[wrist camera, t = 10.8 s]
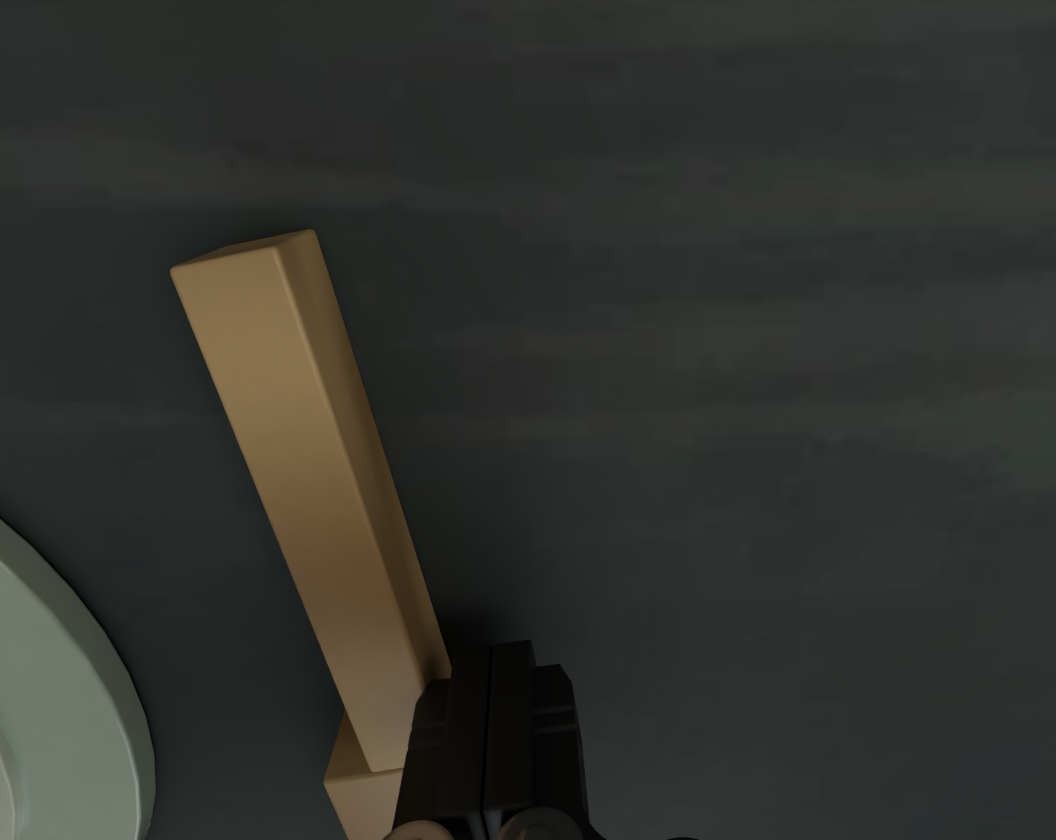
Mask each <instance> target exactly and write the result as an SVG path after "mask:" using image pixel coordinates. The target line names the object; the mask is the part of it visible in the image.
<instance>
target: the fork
mask: <svg viewBox="0 0 1056 840" xmlns="http://www.w3.org/2000/svg"><path fill="white" fill-rule="evenodd" d="M170 275H171V277H172V280H173V282H174V284H175V287H176V289H177V292H178V294H179V297H180V299H181V302H182V304H183V307H184V309H185V312H186V314H187V317H188V319H189V322H190V324H191V327H192V329H193V332H194V334H195V337H196V339H197V342H198V344H199V347H200V349H201V351H202V354H203V356H204V359H205V361H206V364H207V366H208V369H209V371H210V374H211V376H212V379H213V381H214V384H215V386H216V389H217V391H218V394H219V396H220V399H221V401H222V404H223V406H224V409H225V411H226V413H227V416H228V418H229V421H230V423H231V426H232V428H233V431H234V433H235V436H236V438H237V441H238V443H239V446H240V448H241V451H242V453H243V456H244V458H245V461H246V463H247V466H248V468H249V471H250V473H251V475H252V478H253V480H254V483H255V485H256V488H257V490H258V493H259V495H260V498H261V500H262V503H263V505H264V508H265V510H266V513H267V515H268V518H269V520H270V523H271V525H272V528H273V530H274V533H275V535H276V537H277V540H278V542H279V545H280V547H281V550H282V552H283V555H284V557H285V560H286V562H287V565H288V567H289V570H290V572H291V575H292V577H293V580H294V582H295V585H296V587H297V590H298V592H299V595H300V597H301V599H302V602H303V604H304V607H305V609H306V612H307V614H308V617H309V619H310V622H311V624H312V627H313V629H314V632H315V634H316V637H317V639H318V642H319V644H320V647H321V649H322V652H323V654H324V657H325V659H326V661H327V664H328V666H329V669H330V671H331V674H332V676H333V679H334V681H335V684H336V686H337V689H338V691H339V694H340V696H341V699H342V701H343V704H344V706H345V711H344V714H343V718H342V721H341V724H340V728H339V731H338V734H337V738H336V741H335V744H334V748H333V751H332V754H331V758H330V761H329V764H328V768H327V771H326V774H325V778H324V786H325V788H326V790H327V793H328V795H329V797H330V799H331V802H332V804H333V806H334V808H335V811H336V813H337V815H338V817H339V820H340V822H341V824H342V826H343V829H344V831H345V833H346V835H347V838H348V840H382V839H383V838H384V837H385V836H386V835H388V834H389V833H390V832H391V830H392V826H393V821H394V816H395V811H396V805H397V800H398V795H399V790H400V784H401V779H402V774H403V768H404V763H405V758H406V753H407V751H408V742H409V737H410V731H412V727H411V726H412V721H413V716H414V710H415V705H416V702H417V700H418V699H419V697H420V696H421V694H422V693H423V691H424V690H425V688H426V687H427V685H428V683H429V682H430V680H438V679H446V678H450V677H451V669H452V668H451V664H450V661H449V658H448V655H447V652H446V648H445V645H444V642H443V639H442V636H441V632H440V629H439V626H438V623H437V620H436V616H435V613H434V610H433V607H432V604H431V600H430V597H429V594H428V591H427V588H426V584H425V581H424V578H423V575H422V572H421V568H420V565H419V562H418V559H417V556H416V552H415V549H414V546H413V543H412V540H411V536H410V533H409V530H408V527H407V524H406V520H405V517H404V514H403V511H402V508H401V504H400V501H399V498H398V495H397V492H396V488H395V485H394V482H393V479H392V476H391V472H390V469H389V466H388V463H387V460H386V456H385V453H384V450H383V447H382V444H381V440H380V437H379V434H378V431H377V428H376V424H375V421H374V418H373V415H372V412H371V408H370V405H369V402H368V399H367V396H366V392H365V389H364V386H363V383H362V380H361V376H360V373H359V370H358V367H357V364H356V360H355V357H354V354H353V351H352V348H351V344H350V341H349V338H348V335H347V332H346V328H345V325H344V322H343V319H342V316H341V312H340V309H339V306H338V303H337V299H336V296H335V293H334V290H333V287H332V283H331V280H330V277H329V274H328V271H327V267H326V264H325V261H324V258H323V255H322V251H321V248H320V245H319V242H318V239H317V235H316V233H315V232H314V230H312V229H306V230H301V231H296V232H291V233H287V234H282V235H277V236H272V237H268V238H263V239H258V240H254V241H249V242H244V243H239V244H235V245H230V246H226V247H223V248H220V249H218V250H215V251H212V252H210V253H207V254H205V255H202V256H199V257H197V258H194V259H192V260H189V261H186V262H184V263H181V264H179V265H176V266H174V267H173V268H171V269H170Z"/></svg>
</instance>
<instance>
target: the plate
mask: <svg viewBox="0 0 1056 840" xmlns="http://www.w3.org/2000/svg"><path fill="white" fill-rule="evenodd" d="M155 793H156V779H155V755H154V749H153V745H152V740H151V736H150V731H149V727H148V722H147V718H146V714H145V712H144V709H143V707H142V704H141V702H140V699H139V697H138V694H137V692H136V689H135V687H134V684H133V682H132V679H131V677H130V674H129V672H128V671H127V669H126V667H125V665H124V664H123V662H122V660H121V658H120V657H119V655H118V653H117V652H116V650H115V648H114V646H113V645H112V643H111V641H110V639H109V638H108V636H107V634H106V632H105V631H104V630H103V628H102V627H101V626H100V624H99V623H98V622H97V620H96V619H95V618H94V616H93V615H92V614H91V612H90V611H89V610H88V608H87V607H86V606H85V605H84V603H83V602H82V601H81V599H80V598H79V597H78V595H77V594H76V593H75V591H74V590H73V589H72V588H71V587H70V585H69V584H68V583H67V582H66V581H65V580H64V579H63V578H62V577H61V576H60V575H59V574H58V573H57V572H56V571H55V570H54V569H53V568H52V566H51V565H50V564H49V563H48V562H47V561H46V560H45V559H44V558H43V557H42V556H41V555H40V554H39V553H38V552H37V551H36V550H35V549H34V548H33V546H32V545H30V544H29V543H28V542H27V541H26V540H25V539H23V538H22V537H21V536H20V535H19V534H18V533H16V532H15V531H14V530H13V529H12V528H11V527H10V526H8V525H7V524H6V523H5V522H4V521H3V520H1V519H0V840H145V838H146V836H147V833H148V830H149V828H150V825H151V819H152V813H153V806H154V800H155Z"/></svg>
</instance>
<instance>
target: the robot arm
mask: <svg viewBox="0 0 1056 840" xmlns="http://www.w3.org/2000/svg"><path fill="white" fill-rule="evenodd" d="M411 727H412V731H410V737H409V742H408V751H407V753H406V758H405V763H404V768H403V774H402V779H401V784H400V790H399V795H398V800H397V805H396V811H395V816H394V821H393V826H392V830H391V832H390V833H389V834H388V835H386V836H385V837H384V838H383V839H382V840H606V839H605V838H603V837H602V836H601V835H600V834H599V833H598V832H596V831H595V829H594V828H593V827H592V825H591V824H590V820H589V810H588V800H587V790H586V779H585V769H584V759H583V748H582V739H581V733H580V727H579V721H578V716H577V710H576V704H575V698H574V692H573V686H572V682H571V681H570V679H569V678H568V676H567V675H566V673H565V672H564V670H563V669H562V667H561V666H560V664H555V665H548V666H540V667H536V663H535V657H534V652H533V647H532V643H531V640H523V641H515V642H507V643H500V644H494V645H493V646H492V645H486V646H478V647H470V648H462V649H456V650H455V651H454V655H453V662H452V669H451V677H450V678H446V679H438V680H430V682H429V683H428V685H427V687H426V688H425V690H424V691H423V693H422V694H421V696H420V697H419V699H418V700H417V702H416V705H415V710H414V716H413V721H412V726H411ZM668 840H698V839H694V838H688V837H678V838H672V839H668Z"/></svg>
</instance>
